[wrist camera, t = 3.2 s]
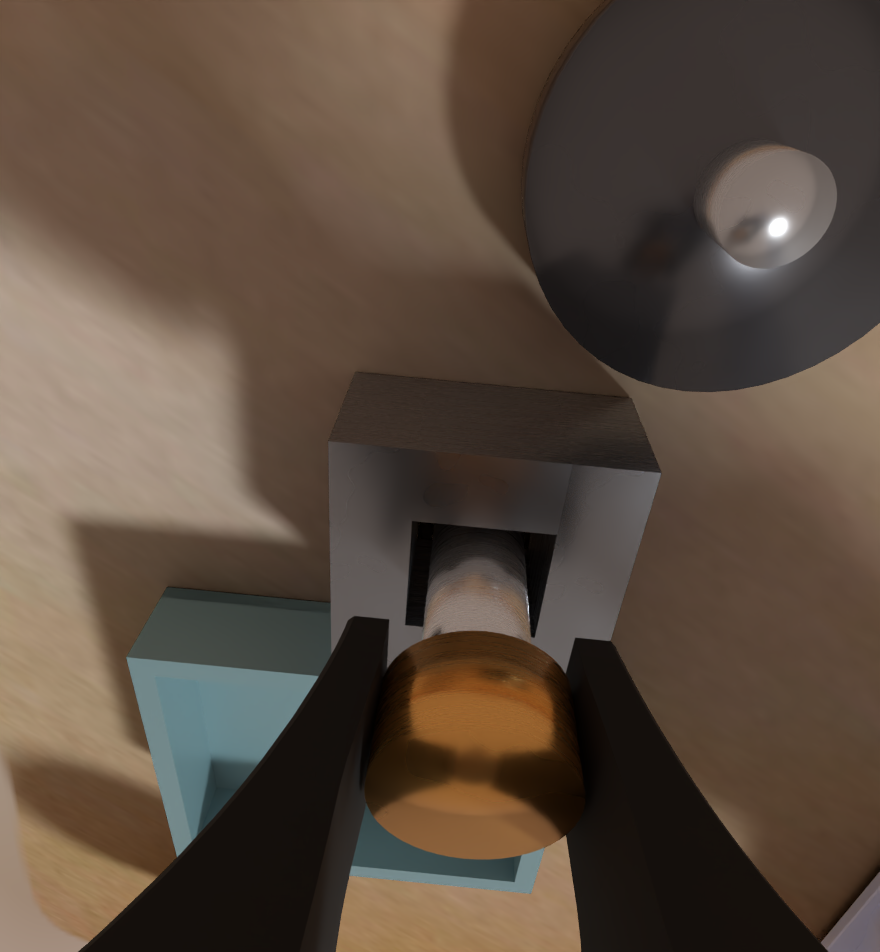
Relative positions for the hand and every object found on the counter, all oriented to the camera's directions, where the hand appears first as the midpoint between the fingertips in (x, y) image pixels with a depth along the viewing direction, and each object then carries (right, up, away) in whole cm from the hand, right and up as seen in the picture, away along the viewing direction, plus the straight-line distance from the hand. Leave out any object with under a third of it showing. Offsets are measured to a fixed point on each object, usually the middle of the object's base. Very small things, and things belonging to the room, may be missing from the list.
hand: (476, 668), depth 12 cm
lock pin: (0, +2, +4) cm, 4 cm away
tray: (-3, -4, +9) cm, 10 cm away
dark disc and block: (+3, +6, +2) cm, 7 cm away
